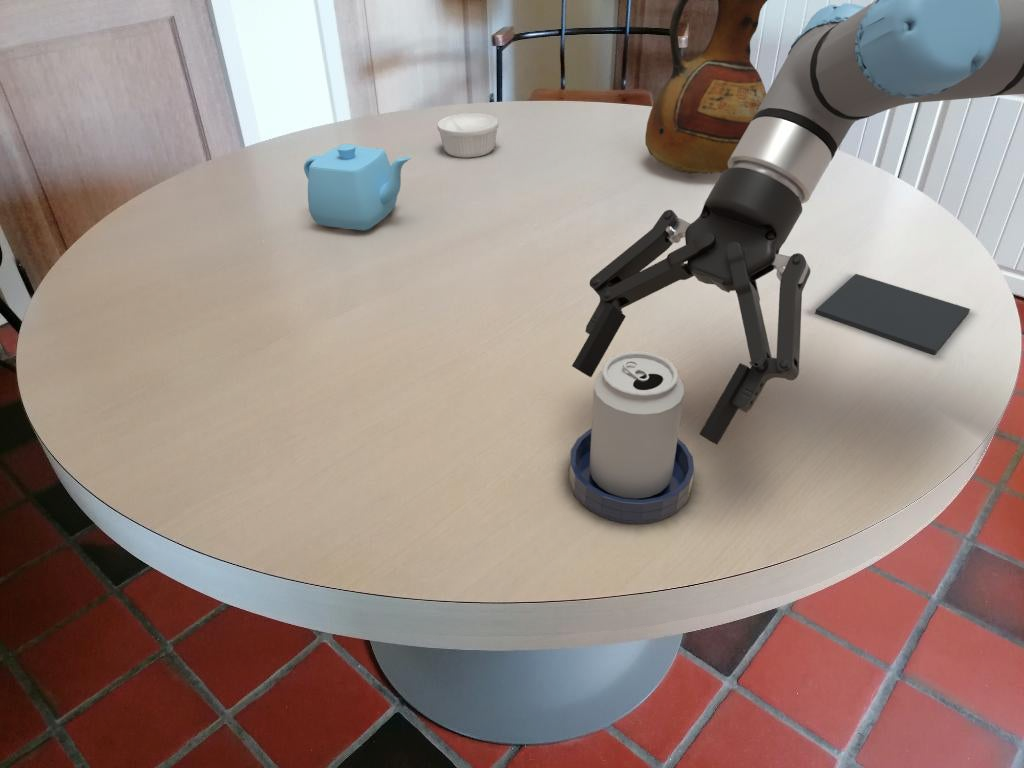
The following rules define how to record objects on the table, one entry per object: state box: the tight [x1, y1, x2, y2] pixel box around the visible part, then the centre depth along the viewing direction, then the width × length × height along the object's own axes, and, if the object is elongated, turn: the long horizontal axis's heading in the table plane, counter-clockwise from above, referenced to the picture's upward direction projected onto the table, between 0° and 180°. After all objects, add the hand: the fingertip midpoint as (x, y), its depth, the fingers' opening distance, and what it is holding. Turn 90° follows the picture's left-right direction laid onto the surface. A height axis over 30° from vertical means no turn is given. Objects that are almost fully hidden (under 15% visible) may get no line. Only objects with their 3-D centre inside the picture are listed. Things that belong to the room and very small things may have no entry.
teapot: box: [303, 143, 412, 232], centre depth 114 cm, size 12×18×12 cm
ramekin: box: [437, 112, 499, 159], centre depth 141 cm, size 11×11×5 cm
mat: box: [814, 273, 971, 355], centre depth 92 cm, size 14×12×1 cm
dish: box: [569, 428, 695, 525], centre depth 68 cm, size 11×11×2 cm
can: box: [589, 350, 685, 499], centre depth 65 cm, size 8×8×12 cm
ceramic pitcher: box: [644, 0, 768, 175], centre depth 124 cm, size 20×20×30 cm
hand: (640, 404), depth 65 cm, fingers open, 13 cm apart
